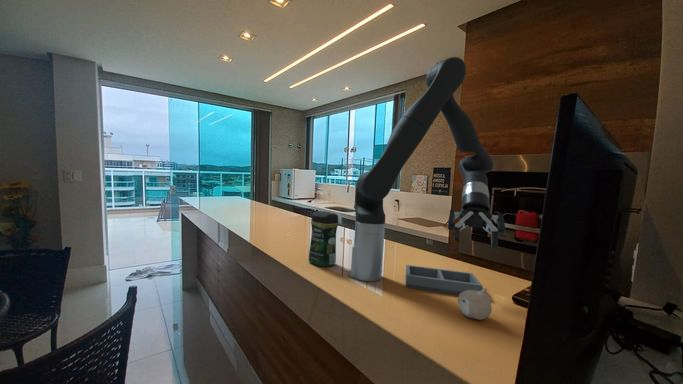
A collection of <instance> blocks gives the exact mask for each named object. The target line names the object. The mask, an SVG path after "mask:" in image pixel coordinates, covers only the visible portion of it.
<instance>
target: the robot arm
mask: <svg viewBox="0 0 683 384" xmlns="http://www.w3.org/2000/svg"><path fill="white" fill-rule="evenodd" d="M466 75H467V68H466V63H465V61H464V60H463V59H462V58H460V57H458V56H451V57H448V58H445V59H443V60H441V61H440V62H438V63H436V64H435V65H433V66H432V67H430V69H429V70H428V71H427V73H426V76H425V77H426V78H425V82H426V85H427V89H426V91H425V92H424V93H423V94H422V95H421V96H420V97H418V99H417V100H416V101H415V102H414V103H412V104H411V105H410V106H409V108H408V109H407V110H406V111H405V112H404V113H403V114H402V116H401V117H400V119H399V120H398V121H397V123H396V125H395V126H394V128H393V130H392V131H391V133H390V135H389V137H388V140H387V144H386V146H385V149H384V150H383V152H382V154H381V156H380V158H378V160H377V161H376V163H375V164H374V165H373V166H372V167H371V169H369V171H366V172H363V173H362V174H361V175H359V177H358V178H357V180H356V183H355V184H356V185H355V198H354V201H355V202H354V212H355V225H354V226H355V227H354V240H353V242H354V243H353V246H352V248H351V249H352V250H351V265H350V278H354V279H356V280H358V281H359V280H360V281H363V282H377V281H379V280H381V279H382V273H383V259H384V244H385V242H384V241H385V228H386V227H385V226H386V214H385V210H384V199H385V198H386V197H387V196H388V194H389V193H390V191H391V190H392V187H393V186H394V184H395V182H396V180H397V178H398V177H399V174H400V172H401V170H402V169H403V168H404V166H405V164H406V163H407V162H408V160H409V159H410V158H411V156H412V155H413V154H414V152H415V151H416V149H417V148H418V146H419V145H420V143H421V142H422V140H423V138H425V136H426V134H427V133H428V131H429V130H430V127H431V126H432V125H433V123H434V122H435V120H436V119H437V117H438V116H439V114H440V112H441V114H442V115H443V117H444V118H445V120H446V123H447V125H448V126H449V129H450V131H451V133H452V137H453V140H454V143H455V145H456V148H457V150H458V151H459V152H460V153H467V152H470V153H471V152H472V153H474V154H472V155H469V156H466V157H463V158H462V159H461V160H460V161H459V163H458V169H459V172H460V174H461V175H462V180H463V181H462V182H463V184H462V185H463V187H462V192H461V193H462V194H461V209H460V211H455V210H454V209H450V210H449V216H448V222H447V230H449V231H453V232H454V233H453V240H454V242H455V241H456V242H455V243H456V244H457V243H458V244H459V243H460V237H461V234H460V232H461V230H464V229H465V228H466V227H469V228H477V229H481V228H482V229H483V230H484V231H486V232H487V233H489V234H490V246H491V247H490V248H495V247H497V246H498V242H499V236H504V235H505V231H506V230H507V229H506V223H505V218H504V214H503V213H500V212H499V213H498V214H492V213H491V210H490V209H491V206H490V192H489V185H488V183H489V181H488V177H487V175H486V174H488V173H489V172H491V171H493V168H494V161H493V158H492V157H491V155H490V154H489V152H488V151H487V150H486V149H485V147H484V146H483V144H482V143H481V141H480V139H479V136H478V132H477V129H476V127H475V124H474V123H473V120H472V119H471V118H470V117H469V115H468V114H467V113H466V112H465V110H463V108H462V107H461V106H460V105H459V104H458V102H457V100H456V99H455V96H454V94H455V92H457V90H458V89H459V87H460V86H461V85H462V84H463V82H464V80H465V78H466ZM458 217H459V221H457V222H456V223H454V221H455V220H456V219H457V218H458ZM493 222H494V223H495V224H497V227H496V226H495V225H494V224H493Z"/></svg>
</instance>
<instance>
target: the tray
mask: <svg viewBox="0 0 683 384" xmlns="http://www.w3.org/2000/svg"><path fill="white" fill-rule="evenodd" d="M405 288H409V289H414V290H415V289H416V290H420V291H428V292H434V293H435V292H436V293H442V294H448V295H455V296H459V295H460V293H461V292H463V291H467V290H474V291H481V290H482V289H483V285H482V283H481V282H480V281H479V279H478V278H477V277H476V276H475V275H474V273H472V272H467V271H466V272H465V271H458V270H457V271H456V270H450V269H441V268H435V267H433V268H432V267H427V266H419V265H412V264H411V265H410V264H406V265H405Z"/></svg>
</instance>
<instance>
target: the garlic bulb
mask: <svg viewBox="0 0 683 384" xmlns="http://www.w3.org/2000/svg"><path fill="white" fill-rule="evenodd" d="M486 291H488V287H484V288H482V290H481V291H474V290H467V291H463V292H461V293H460V295H458V298H457V303H458V306H459V309H460V311H461V313H462V314H463V315H465V316H466V317H468V318H470V319H475V320H478V321H481V320H484V319H486V318H488V317H490V315H491V314H492V312H493V307H492V299H491V297H490V296H489V295H488V294H487V292H486Z"/></svg>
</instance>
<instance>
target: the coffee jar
mask: <svg viewBox="0 0 683 384" xmlns="http://www.w3.org/2000/svg"><path fill="white" fill-rule="evenodd" d="M310 220H311V221H310V225H311V234H310V235H311V236H310V243H309V251H308V262H309V263H311V264H313V265H316V266H318V267H323V268H324V267H332V266H333V265H335V264H336V262H337V261H336V260H337V245H336V244H337V229H338V226H339V215H338V214H337V213H333V212H331V211H325V210H324V211H323V210H320V211H319V210H318V211H314V212H313V213H312V214H311V219H310Z"/></svg>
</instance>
